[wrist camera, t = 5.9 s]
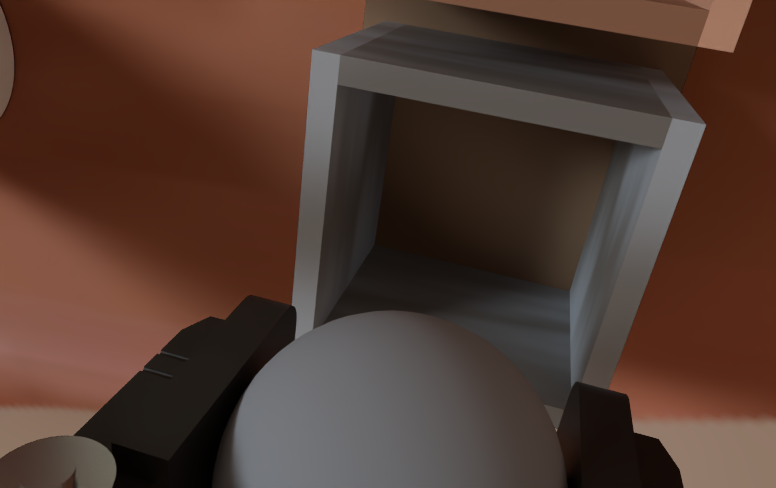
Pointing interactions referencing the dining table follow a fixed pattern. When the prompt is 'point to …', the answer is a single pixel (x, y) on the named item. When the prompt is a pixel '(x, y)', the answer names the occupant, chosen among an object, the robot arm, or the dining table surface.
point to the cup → (5, 63)
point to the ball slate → (389, 413)
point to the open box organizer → (502, 170)
